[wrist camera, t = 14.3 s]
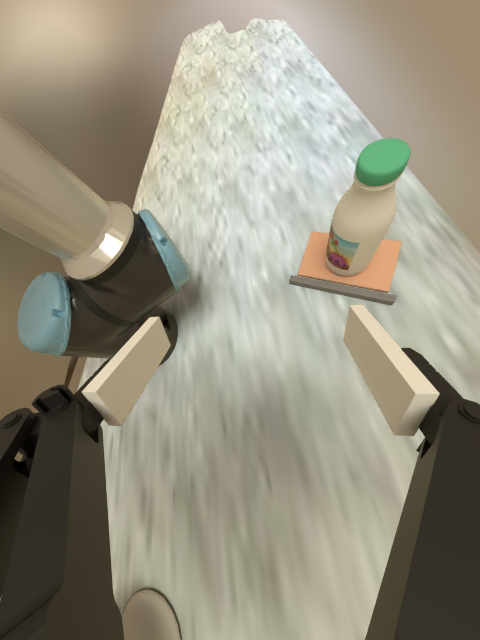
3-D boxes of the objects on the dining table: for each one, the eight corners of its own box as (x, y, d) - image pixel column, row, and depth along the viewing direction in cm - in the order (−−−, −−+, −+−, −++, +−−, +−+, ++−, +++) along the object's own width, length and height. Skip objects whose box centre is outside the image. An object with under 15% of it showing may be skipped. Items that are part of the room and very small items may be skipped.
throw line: (289, 283, 41) (289, 280, 40) (291, 278, 42) (291, 275, 40) (391, 305, 35) (394, 302, 33) (392, 298, 35) (396, 295, 34)
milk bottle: (363, 236, 39) (415, 111, 20) (375, 271, 36) (446, 167, 18) (321, 247, 41) (333, 143, 22) (330, 281, 38) (352, 197, 20)
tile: (297, 275, 41) (297, 274, 41) (311, 233, 43) (311, 231, 42) (387, 292, 35) (388, 291, 35) (400, 243, 37) (402, 241, 36)
